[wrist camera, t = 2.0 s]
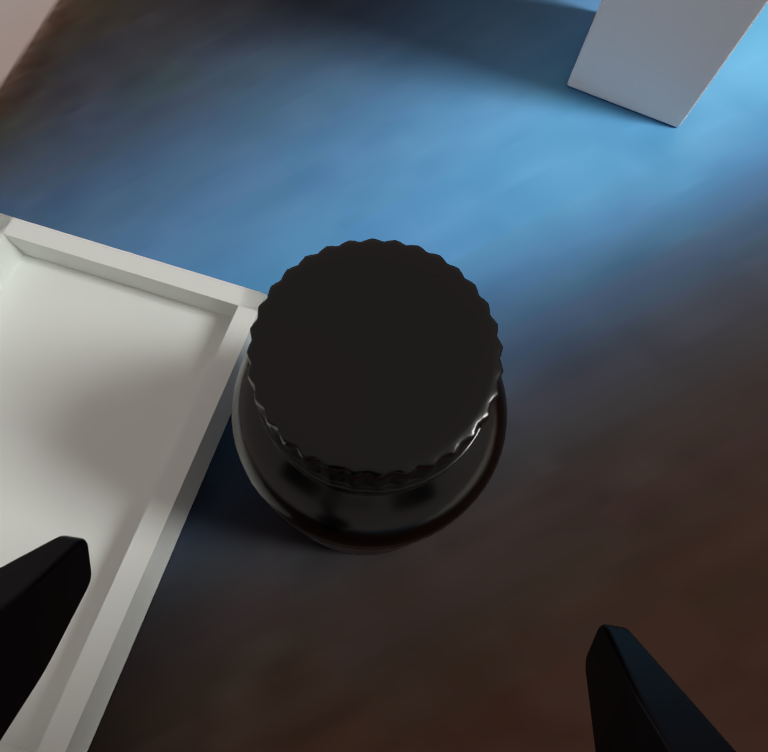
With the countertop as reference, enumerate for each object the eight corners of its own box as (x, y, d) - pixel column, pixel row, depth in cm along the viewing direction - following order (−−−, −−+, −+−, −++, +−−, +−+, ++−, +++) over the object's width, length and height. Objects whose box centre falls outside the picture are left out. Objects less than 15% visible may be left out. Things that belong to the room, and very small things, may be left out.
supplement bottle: (255, 535, 20) (122, 488, 9) (302, 365, 23) (243, 159, 11) (438, 576, 20) (536, 579, 9) (468, 400, 22) (574, 224, 11)
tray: (69, 794, 18) (36, 818, 16) (-253, 672, 18) (-320, 683, 17) (273, 315, 23) (265, 293, 22) (22, 238, 24) (-5, 211, 22)
